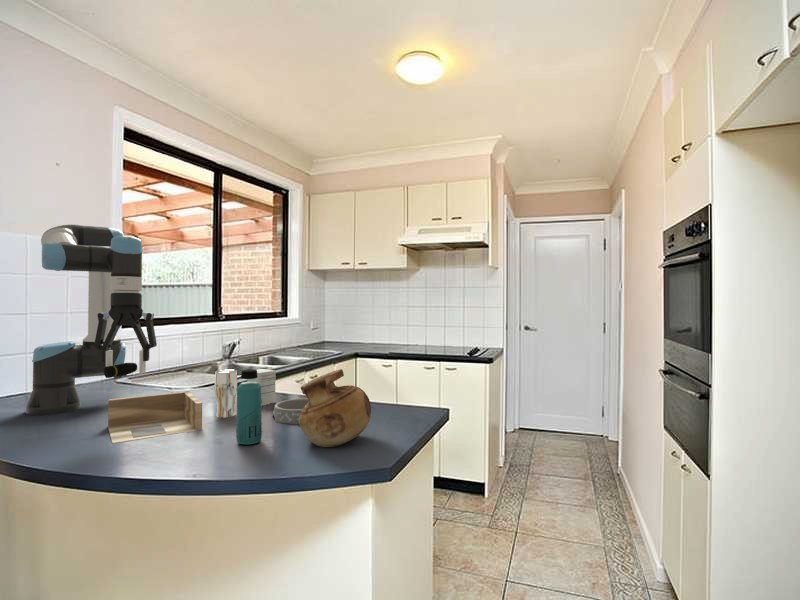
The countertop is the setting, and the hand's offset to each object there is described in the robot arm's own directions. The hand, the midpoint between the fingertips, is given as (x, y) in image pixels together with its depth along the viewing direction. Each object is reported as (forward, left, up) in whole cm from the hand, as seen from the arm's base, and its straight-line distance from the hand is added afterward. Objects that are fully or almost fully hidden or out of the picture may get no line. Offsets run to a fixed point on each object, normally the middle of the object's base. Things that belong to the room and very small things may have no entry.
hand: (125, 373), depth 127 cm
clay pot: (+41, +44, -18) cm, 63 cm away
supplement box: (-15, +43, -18) cm, 49 cm away
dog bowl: (+11, +47, -18) cm, 52 cm away
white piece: (-5, +28, -18) cm, 34 cm away
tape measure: (+1, +1, -1) cm, 2 cm away
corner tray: (-2, +7, -17) cm, 19 cm away
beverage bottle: (+29, +25, -18) cm, 43 cm away
